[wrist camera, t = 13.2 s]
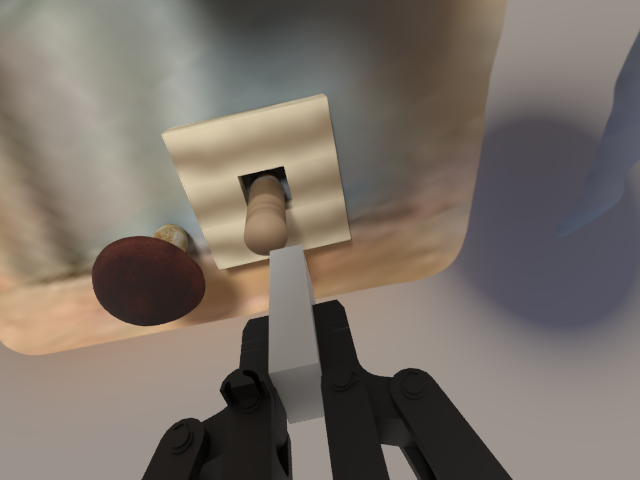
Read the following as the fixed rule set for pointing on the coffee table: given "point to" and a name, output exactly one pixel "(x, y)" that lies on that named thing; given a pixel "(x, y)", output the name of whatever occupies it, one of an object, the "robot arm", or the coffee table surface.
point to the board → (258, 155)
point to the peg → (266, 215)
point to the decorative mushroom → (148, 278)
